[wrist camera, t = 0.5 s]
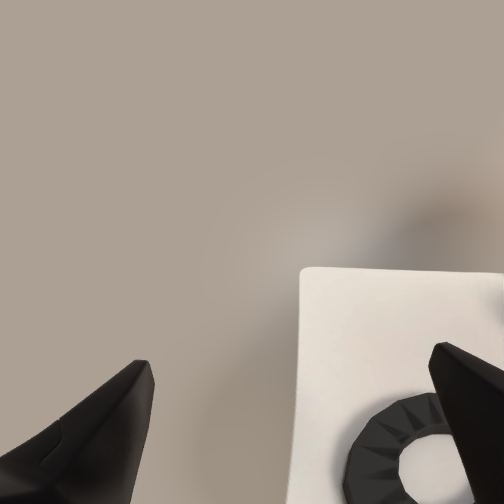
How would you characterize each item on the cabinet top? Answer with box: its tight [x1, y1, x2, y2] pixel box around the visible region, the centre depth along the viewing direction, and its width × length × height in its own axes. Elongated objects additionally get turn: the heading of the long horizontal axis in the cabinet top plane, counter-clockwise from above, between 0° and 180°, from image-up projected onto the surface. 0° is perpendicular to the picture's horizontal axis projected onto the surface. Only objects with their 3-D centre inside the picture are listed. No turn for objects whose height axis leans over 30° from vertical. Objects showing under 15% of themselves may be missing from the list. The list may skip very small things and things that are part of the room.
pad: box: [343, 393, 476, 504], centre depth 17 cm, size 17×17×2 cm
